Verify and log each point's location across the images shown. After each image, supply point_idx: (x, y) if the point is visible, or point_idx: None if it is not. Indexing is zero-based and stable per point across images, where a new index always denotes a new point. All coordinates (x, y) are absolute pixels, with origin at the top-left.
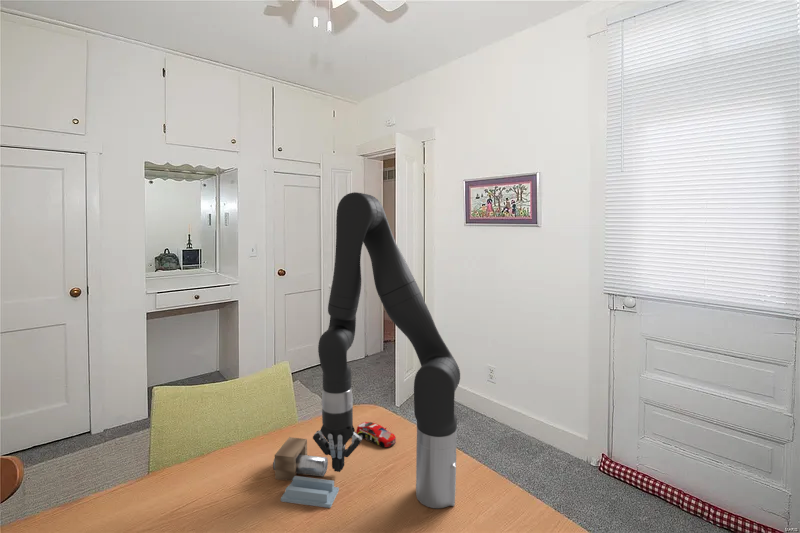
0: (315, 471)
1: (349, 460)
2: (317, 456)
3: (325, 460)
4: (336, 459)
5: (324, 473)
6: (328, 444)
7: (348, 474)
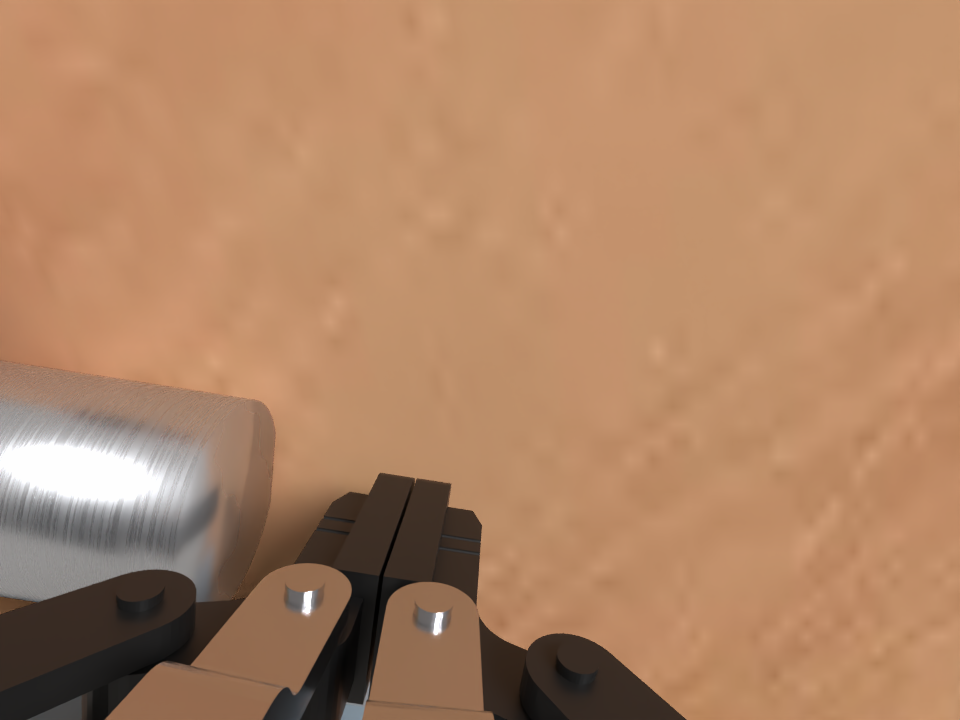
0: None
1: (504, 198)
2: (45, 476)
3: (199, 515)
4: (363, 692)
5: (264, 488)
6: (60, 704)
7: (529, 467)
